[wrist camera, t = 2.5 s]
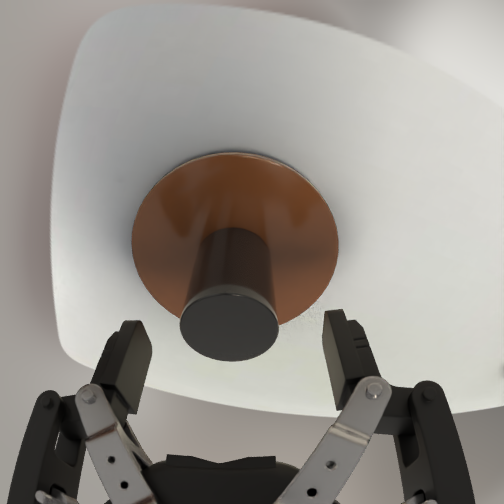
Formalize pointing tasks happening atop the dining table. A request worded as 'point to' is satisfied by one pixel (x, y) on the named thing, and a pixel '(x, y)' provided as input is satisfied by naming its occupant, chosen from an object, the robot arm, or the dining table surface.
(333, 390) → the robot arm
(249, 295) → the crock lid
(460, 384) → the dining table surface
